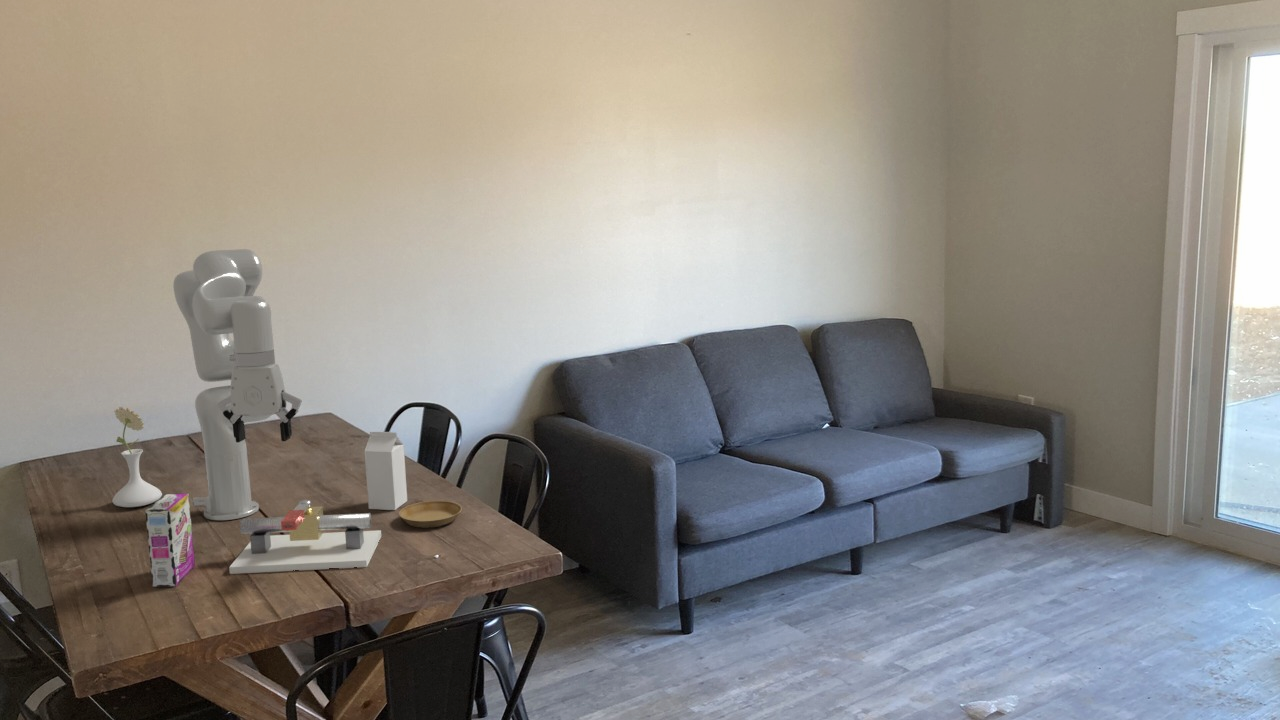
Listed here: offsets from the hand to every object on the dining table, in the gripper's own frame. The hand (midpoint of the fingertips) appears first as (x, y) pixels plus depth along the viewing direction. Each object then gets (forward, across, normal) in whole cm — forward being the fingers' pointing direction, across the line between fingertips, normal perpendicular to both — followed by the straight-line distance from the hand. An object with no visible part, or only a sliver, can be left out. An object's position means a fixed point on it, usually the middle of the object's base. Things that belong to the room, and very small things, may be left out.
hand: (263, 440), depth 207 cm
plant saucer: (+27, +27, +27) cm, 47 cm away
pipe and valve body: (+25, +5, +5) cm, 27 cm away
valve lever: (+17, +6, -1) cm, 18 cm away
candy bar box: (+27, -18, -7) cm, 33 cm away
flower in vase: (+26, -53, +40) cm, 71 cm away
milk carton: (+27, +13, +37) cm, 48 cm away
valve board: (+27, +5, +5) cm, 28 cm away
